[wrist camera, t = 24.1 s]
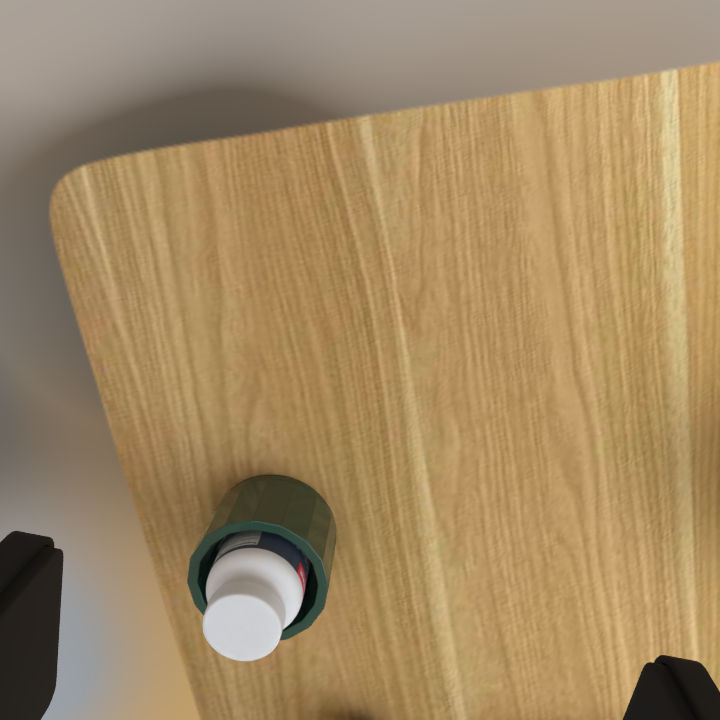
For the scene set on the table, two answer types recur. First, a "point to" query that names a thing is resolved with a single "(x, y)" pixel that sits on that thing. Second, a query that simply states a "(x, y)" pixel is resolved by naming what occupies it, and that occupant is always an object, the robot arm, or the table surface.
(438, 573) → the table surface
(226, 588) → the pill bottle
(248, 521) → the cup
